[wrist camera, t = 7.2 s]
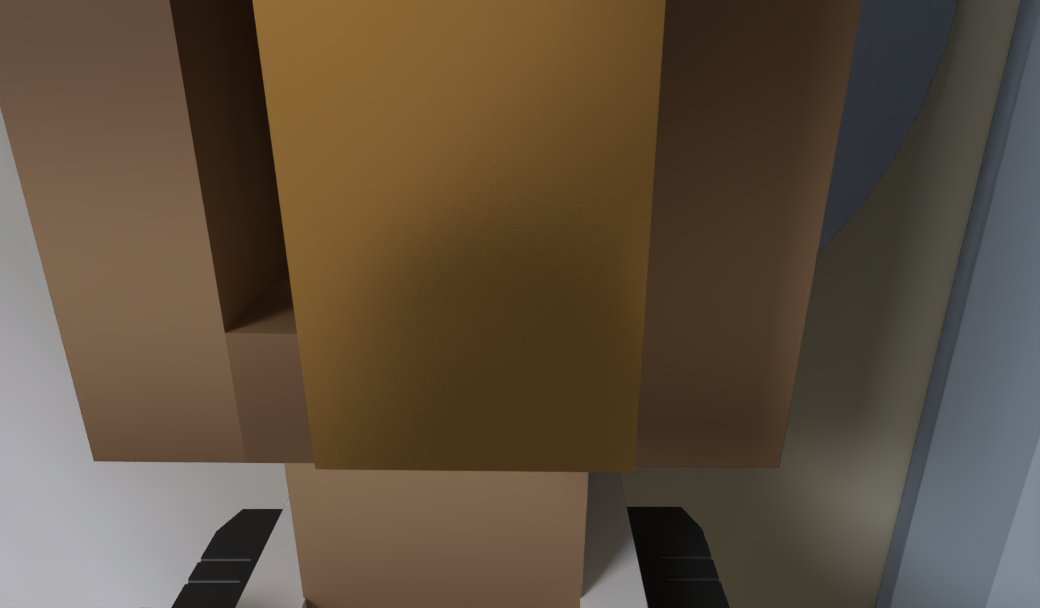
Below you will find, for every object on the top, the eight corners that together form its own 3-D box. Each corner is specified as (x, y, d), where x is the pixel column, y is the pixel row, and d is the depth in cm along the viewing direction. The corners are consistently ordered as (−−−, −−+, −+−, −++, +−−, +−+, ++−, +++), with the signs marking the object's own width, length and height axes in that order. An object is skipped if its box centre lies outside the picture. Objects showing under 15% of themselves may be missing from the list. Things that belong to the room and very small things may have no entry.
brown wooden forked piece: (132, -580, 8) (-384, -1348, 3) (771, -574, 8) (1099, -1341, 3) (291, 524, 14) (178, 779, 9) (658, 528, 14) (723, 783, 9)
